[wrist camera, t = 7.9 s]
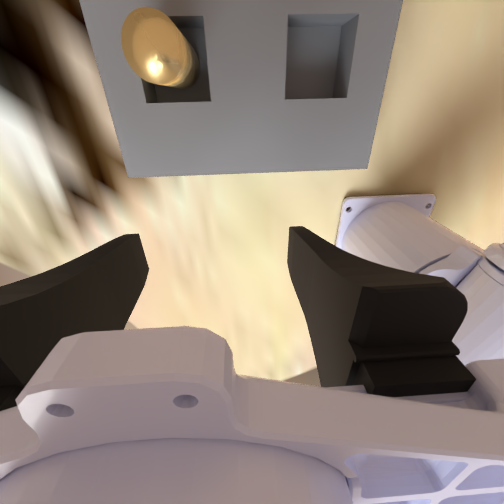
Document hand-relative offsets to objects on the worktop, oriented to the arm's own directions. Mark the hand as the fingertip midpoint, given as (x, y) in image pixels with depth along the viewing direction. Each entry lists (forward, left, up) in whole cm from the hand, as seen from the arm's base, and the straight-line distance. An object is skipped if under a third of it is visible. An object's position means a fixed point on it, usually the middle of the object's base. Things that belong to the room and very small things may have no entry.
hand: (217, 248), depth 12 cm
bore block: (+8, -2, -9) cm, 13 cm away
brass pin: (+8, +2, -9) cm, 12 cm away
